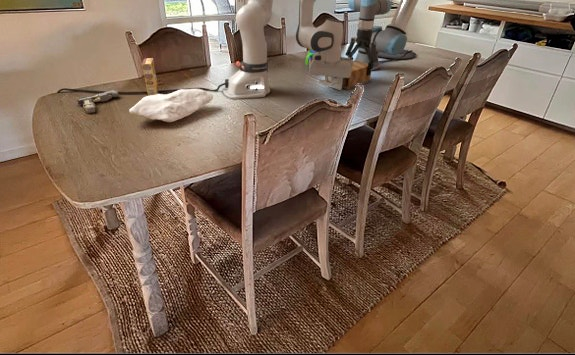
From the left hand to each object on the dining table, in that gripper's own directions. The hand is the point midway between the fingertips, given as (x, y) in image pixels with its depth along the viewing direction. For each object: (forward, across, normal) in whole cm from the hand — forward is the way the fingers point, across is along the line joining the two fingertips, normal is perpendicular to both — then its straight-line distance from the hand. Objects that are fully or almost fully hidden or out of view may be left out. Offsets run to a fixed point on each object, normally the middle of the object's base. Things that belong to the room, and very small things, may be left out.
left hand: (329, 84), depth 179 cm
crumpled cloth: (+1, +58, +49) cm, 76 cm away
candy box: (+1, +77, +32) cm, 83 cm away
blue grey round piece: (+5, -30, -91) cm, 96 cm away
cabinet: (+4, -10, -17) cm, 20 cm away
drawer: (+2, -4, -8) cm, 9 cm away
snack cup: (+3, +12, -33) cm, 35 cm away
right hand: (-1, -13, -22) cm, 26 cm away
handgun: (+1, +92, +49) cm, 104 cm away
